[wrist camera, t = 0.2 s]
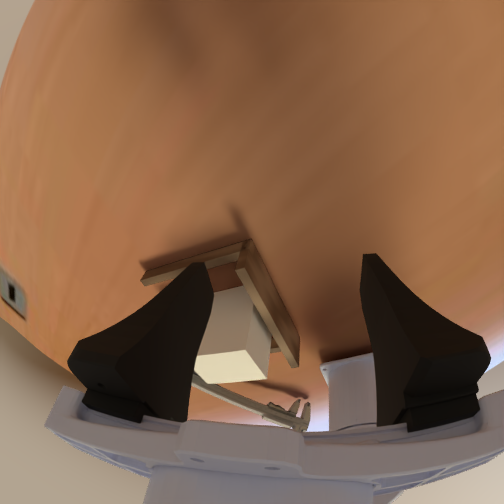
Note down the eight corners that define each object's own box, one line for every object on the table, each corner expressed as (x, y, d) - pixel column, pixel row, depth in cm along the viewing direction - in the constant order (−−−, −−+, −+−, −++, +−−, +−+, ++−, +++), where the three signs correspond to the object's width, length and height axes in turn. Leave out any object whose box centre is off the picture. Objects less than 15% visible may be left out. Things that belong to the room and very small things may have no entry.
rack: (299, 337, 32) (298, 366, 28) (208, 352, 36) (201, 377, 32) (251, 238, 25) (244, 267, 22) (146, 271, 29) (130, 297, 26)
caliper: (310, 400, 40) (310, 437, 35) (307, 403, 40) (306, 439, 36) (178, 367, 37) (167, 407, 32) (177, 370, 38) (166, 409, 33)
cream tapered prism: (274, 313, 30) (266, 378, 23) (223, 323, 32) (207, 383, 25) (257, 282, 28) (245, 349, 21) (203, 294, 30) (181, 357, 23)
